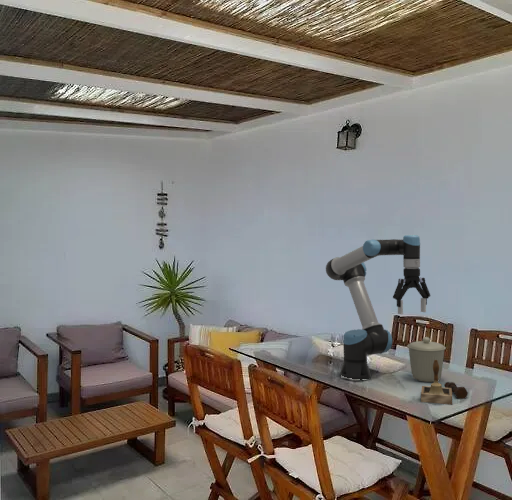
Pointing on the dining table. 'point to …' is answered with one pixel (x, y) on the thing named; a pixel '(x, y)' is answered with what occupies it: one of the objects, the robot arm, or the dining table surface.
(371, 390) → the dining table surface
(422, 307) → the robot arm
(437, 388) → the hand bell
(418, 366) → the canister
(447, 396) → the square tray
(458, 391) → the bolt
